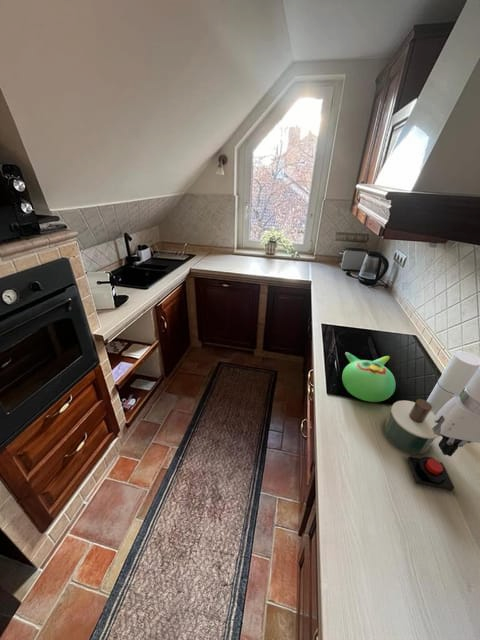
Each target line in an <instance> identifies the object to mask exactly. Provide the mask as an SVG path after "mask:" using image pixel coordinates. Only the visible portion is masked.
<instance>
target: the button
mask: <svg viewBox="0 0 480 640" xmlns="http://www.w3.org/2000/svg"><path fill="white" fill-rule="evenodd" d="M438 461H439V460H438V459H435V458H434V459H428V460H427V462H426V463H425V467H426V469H427V470H428V471H429V472H430V473H432V474H434V475H439V474H440V473H441V472H442V470H443V467H442V465H441V464H440V463H439V462H440V461H439V462H438Z"/></svg>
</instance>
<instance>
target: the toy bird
mask: <svg viewBox="0 0 480 640" xmlns="http://www.w3.org/2000/svg"><path fill="white" fill-rule="evenodd" d="M344 355H345V357H346V359H347V361H348V362H349V363H348V364H346V366H345V367H344V368H343V371H342V374H341V380H342V385H343V387H344V388H345V390H346V391H347V393H349V394H350V395H352V396H353V397H354V398H356V399H358V400H361V401H364V402H369V403H379V402H380V403H381V402H383V401H386V400H388V399H390V398H391V396H393V395H394V393H395V391H396V387H397V386H396V384H397V383H396V378H395V376H394V374H393V373H392V372H391V371H390V369H389V368H387V367H386V366H385V365H386V363H387V362H388V361H389V360H390V358H391V357H390V355H385V356H381V357H379V358H377V359H374V360H368V359H359V358H358V357H357V356H355V355H353V354H352V353H350V352H348V351H345V353H344Z"/></svg>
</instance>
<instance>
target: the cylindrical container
mask: <svg viewBox="0 0 480 640" xmlns="http://www.w3.org/2000/svg"><path fill="white" fill-rule="evenodd" d="M479 366H480V357H479V356H477V354H474V353H472V352H469V351H465V350H456V351H454V353H453V355H452V356H451V358H450V360H449V361H448V363H447V365H446V367H445V368H444V370H443V371H442V374H441V375H440V376H439V378H438V380H437V382H436V384H435V385H434V387H433V389H432V390H431V393H430V394H429V396H428V397H427V399H426V401H427V402H429V403H430V404H431V406H432V409H431V412H433V413H434V414H435V415H436V414H437V413H438V412H439V410H440V409H441V408H442V407H443V406H444V405H445V404H446V403H447V402H448V401H449V400H450V399H452V398H453V397H454V396H459V395H460V394H461V392H462V391H463V389H464V388H465V387H466V385H467V384H468V382H469V381H470V379H471V378H472V377H473V375H474V374H475V372H476V371H477V369H478V368H479Z"/></svg>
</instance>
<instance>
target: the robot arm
mask: <svg viewBox="0 0 480 640" xmlns="http://www.w3.org/2000/svg"><path fill="white" fill-rule="evenodd" d="M433 421H434V422H435V423H438V424H437V425H435V426H434V427H433V428H432V431H433V433H434V434H436V435H438V436H439V437H442V438H441V440H440V441H439V442H438V447H439V449H440V452H441V453H442V455H444V456H448V457H452V456H453V455H454V454H455V452H456V451H457V450H458V449H459V448H462V447H464V446H465V445H467V444H469V443H480V366H479V368H478V369H477V371H476V372H475V374H474V375H473V377H472V378H471V379H470V381H469V382H468V384H467V385H466V387H465V388H464V389H463V391H462V392H461V394H460V395H459V396H454V397H453V398H452V399H450V400H449V401H448V402H447V403H446V404H445V405H444V406H443V407H442V408H441V409H440V410H439V412H438V413H437V414H436V416H435V417H434V419H433Z"/></svg>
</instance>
